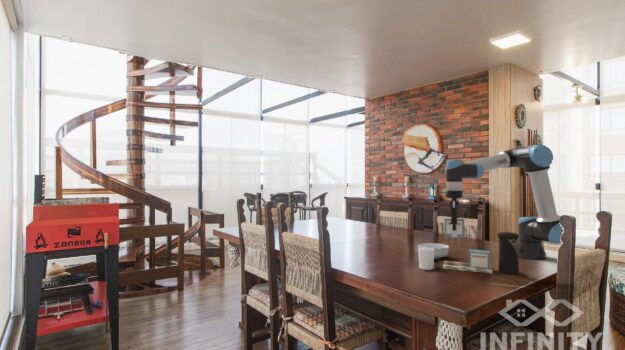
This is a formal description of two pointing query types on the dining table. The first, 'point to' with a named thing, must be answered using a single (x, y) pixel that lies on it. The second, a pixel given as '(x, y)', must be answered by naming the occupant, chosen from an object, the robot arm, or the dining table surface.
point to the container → (508, 253)
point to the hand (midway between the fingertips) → (454, 236)
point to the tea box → (459, 228)
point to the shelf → (464, 267)
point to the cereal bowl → (437, 249)
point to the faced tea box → (479, 259)
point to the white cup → (426, 258)
